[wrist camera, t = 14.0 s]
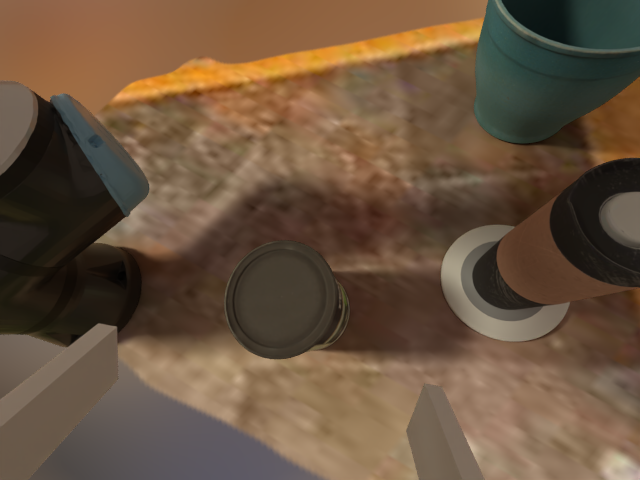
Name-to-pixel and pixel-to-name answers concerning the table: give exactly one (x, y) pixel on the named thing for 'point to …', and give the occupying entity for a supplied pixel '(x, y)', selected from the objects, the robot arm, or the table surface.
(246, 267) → the coffee can
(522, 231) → the travel mug
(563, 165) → the table surface
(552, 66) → the flower pot
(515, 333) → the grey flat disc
